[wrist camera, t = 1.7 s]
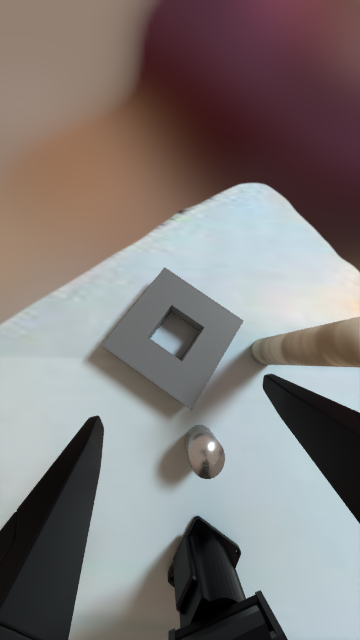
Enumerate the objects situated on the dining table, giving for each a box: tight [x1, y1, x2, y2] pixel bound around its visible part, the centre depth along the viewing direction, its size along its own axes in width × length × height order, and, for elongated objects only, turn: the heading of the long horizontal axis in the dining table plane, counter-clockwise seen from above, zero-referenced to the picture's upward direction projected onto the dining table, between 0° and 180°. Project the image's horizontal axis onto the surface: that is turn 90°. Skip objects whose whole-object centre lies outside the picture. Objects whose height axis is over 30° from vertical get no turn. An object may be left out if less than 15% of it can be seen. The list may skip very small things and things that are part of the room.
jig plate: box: [101, 268, 243, 410], centre depth 25 cm, size 14×14×3 cm
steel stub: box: [185, 425, 225, 479], centre depth 21 cm, size 4×4×4 cm
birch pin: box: [251, 317, 360, 367], centre depth 20 cm, size 4×4×14 cm
